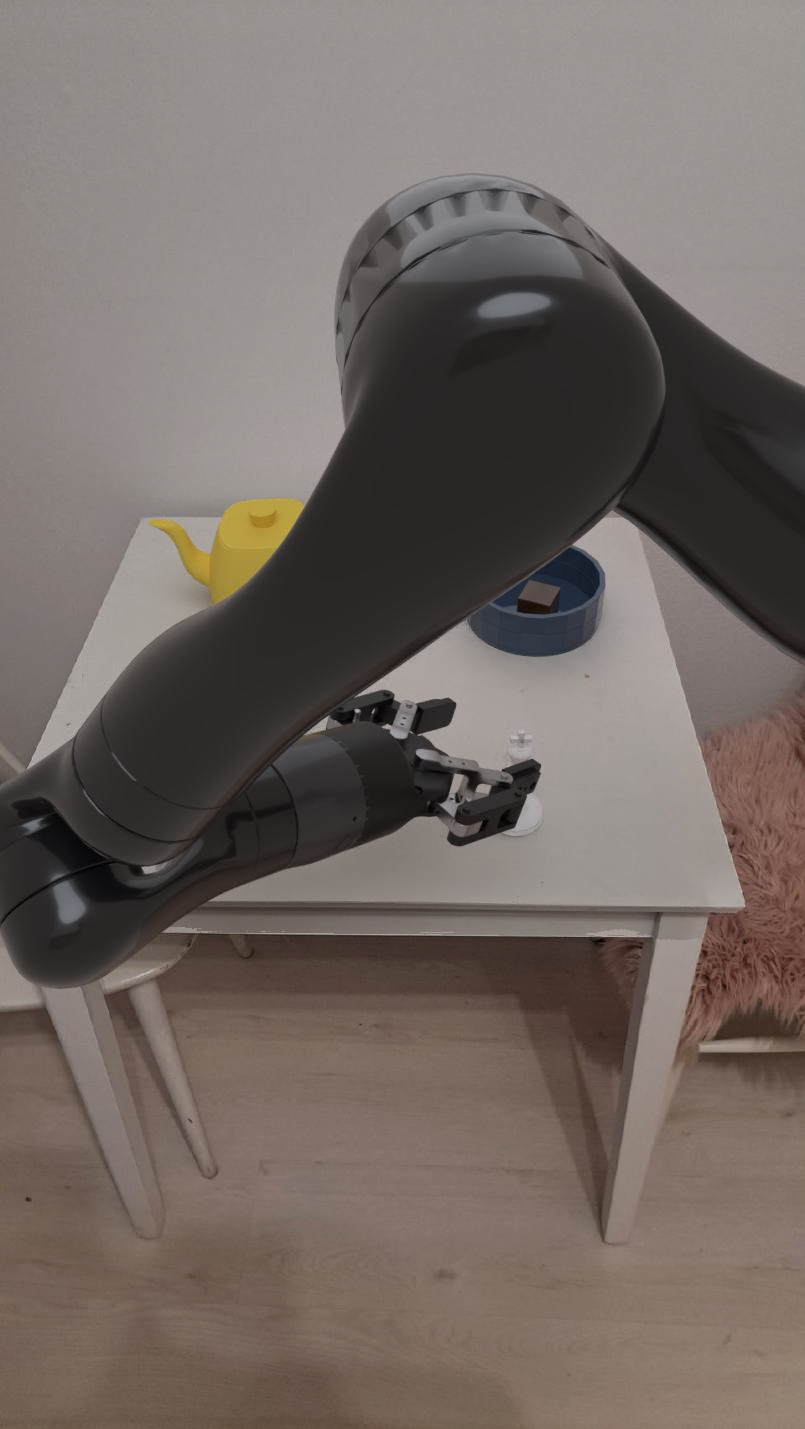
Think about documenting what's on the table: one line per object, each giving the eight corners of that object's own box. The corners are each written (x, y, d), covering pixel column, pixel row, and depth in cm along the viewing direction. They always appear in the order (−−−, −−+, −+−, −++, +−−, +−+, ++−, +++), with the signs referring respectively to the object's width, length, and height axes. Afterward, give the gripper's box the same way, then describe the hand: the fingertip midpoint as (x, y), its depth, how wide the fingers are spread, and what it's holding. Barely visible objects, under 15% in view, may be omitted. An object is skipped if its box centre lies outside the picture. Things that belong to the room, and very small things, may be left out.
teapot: (356, 644, 97) (348, 540, 88) (163, 655, 96) (136, 552, 87) (354, 568, 106) (346, 468, 98) (179, 577, 106) (156, 478, 97)
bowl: (615, 593, 102) (621, 554, 98) (575, 671, 93) (581, 632, 89) (494, 563, 106) (496, 526, 103) (445, 635, 97) (445, 596, 94)
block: (558, 614, 98) (561, 587, 96) (547, 633, 96) (550, 606, 94) (526, 606, 100) (529, 579, 97) (515, 624, 97) (517, 598, 95)
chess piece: (545, 836, 78) (556, 754, 71) (486, 836, 78) (491, 754, 71) (540, 792, 81) (550, 709, 74) (484, 792, 81) (488, 710, 74)
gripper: (414, 811, 51) (583, 749, 62) (263, 684, 59) (437, 649, 70) (382, 912, 54) (547, 837, 65) (243, 780, 62) (412, 732, 73)
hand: (490, 740), depth 68 cm, fingers open, 8 cm apart
